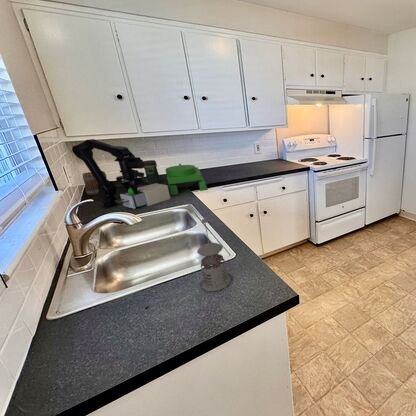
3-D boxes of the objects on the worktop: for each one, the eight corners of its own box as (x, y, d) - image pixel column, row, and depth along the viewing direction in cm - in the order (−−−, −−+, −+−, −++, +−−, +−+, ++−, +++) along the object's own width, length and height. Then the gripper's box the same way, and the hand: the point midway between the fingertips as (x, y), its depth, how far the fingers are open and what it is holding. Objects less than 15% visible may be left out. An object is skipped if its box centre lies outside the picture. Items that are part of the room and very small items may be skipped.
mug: (95, 195, 190) (88, 175, 185) (83, 194, 192) (76, 174, 187) (115, 189, 204) (109, 169, 199) (104, 188, 207) (97, 169, 201)
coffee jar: (161, 181, 225) (156, 159, 218) (160, 183, 218) (154, 160, 211) (148, 182, 222) (142, 160, 215) (146, 184, 215) (140, 161, 208)
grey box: (149, 205, 170) (145, 191, 166) (137, 202, 175) (133, 188, 172) (170, 198, 182) (167, 185, 178) (159, 196, 187) (155, 183, 184)
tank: (202, 179, 229) (198, 160, 223) (207, 189, 200) (203, 168, 194) (169, 183, 217) (165, 163, 211) (170, 195, 189) (165, 172, 183)
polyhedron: (134, 196, 164) (131, 188, 162) (127, 195, 165) (124, 188, 163) (140, 193, 169) (138, 186, 167) (133, 193, 169) (131, 186, 168)
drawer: (125, 211, 159) (121, 199, 156) (115, 208, 164) (111, 196, 161) (155, 202, 174) (152, 190, 171) (145, 199, 179) (142, 188, 176)
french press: (205, 295, 90) (191, 227, 81) (197, 278, 99) (183, 215, 89) (234, 284, 95) (224, 219, 86) (224, 268, 104) (214, 209, 95)
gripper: (149, 167, 163) (155, 191, 169) (131, 164, 171) (138, 187, 177) (129, 171, 154) (136, 196, 160) (112, 168, 162) (119, 192, 168)
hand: (133, 193), depth 166 cm, fingers closed on polyhedron, 5 cm apart
